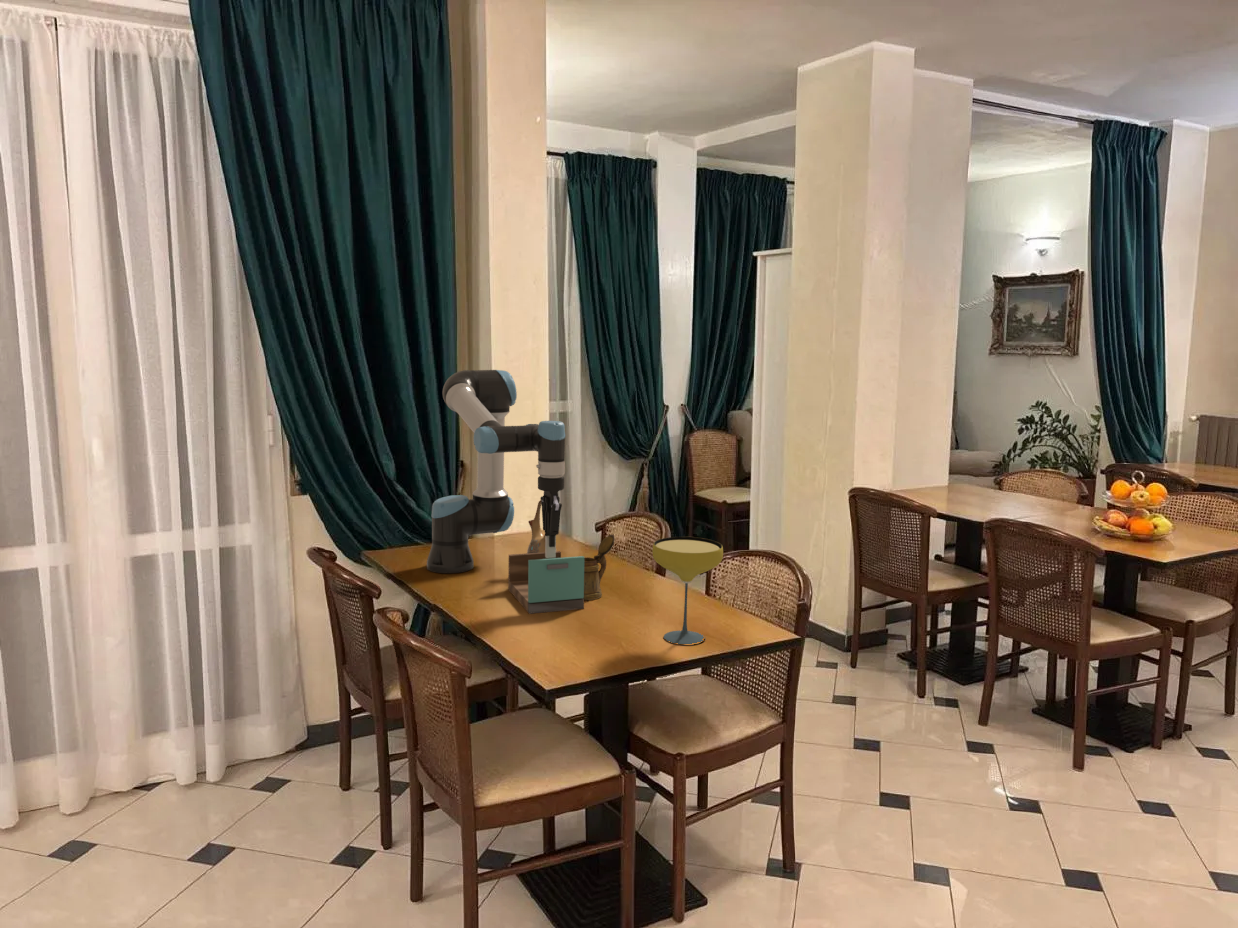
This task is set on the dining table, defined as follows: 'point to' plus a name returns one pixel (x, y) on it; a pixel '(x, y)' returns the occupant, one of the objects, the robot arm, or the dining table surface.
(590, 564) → the wooden mug
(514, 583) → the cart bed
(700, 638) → the cocktail glass
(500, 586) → the dining table surface
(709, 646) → the dining table surface
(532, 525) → the ceramic vessel
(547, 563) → the panel
